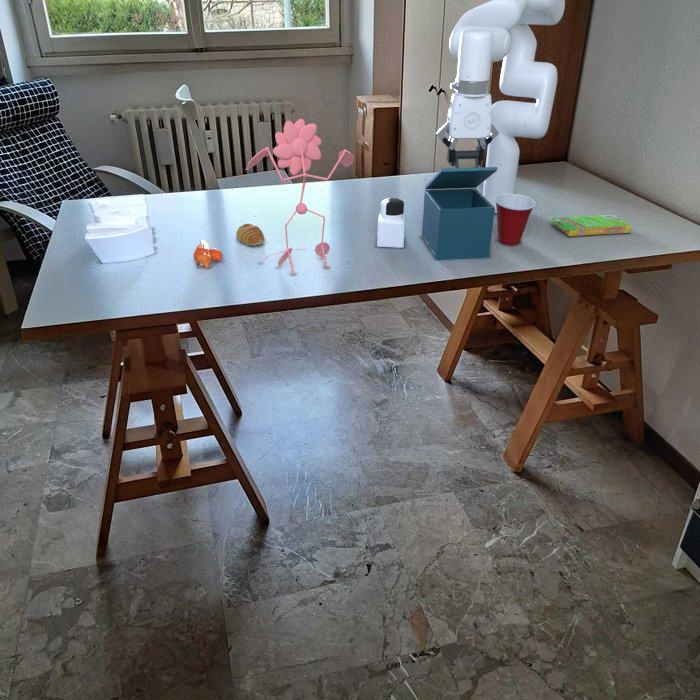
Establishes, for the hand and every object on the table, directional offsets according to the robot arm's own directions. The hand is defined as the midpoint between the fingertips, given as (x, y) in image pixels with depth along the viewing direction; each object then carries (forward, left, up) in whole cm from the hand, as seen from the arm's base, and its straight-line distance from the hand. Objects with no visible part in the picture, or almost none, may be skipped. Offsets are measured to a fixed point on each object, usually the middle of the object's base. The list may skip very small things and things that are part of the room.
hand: (464, 163), depth 165 cm
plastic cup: (-16, -4, -23) cm, 28 cm away
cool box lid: (0, -3, -5) cm, 6 cm away
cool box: (0, -2, -23) cm, 23 cm away
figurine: (+42, +3, -23) cm, 48 cm away
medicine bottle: (+16, -7, -23) cm, 29 cm away
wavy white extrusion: (+88, -14, -23) cm, 92 cm away
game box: (-42, -11, -23) cm, 49 cm away
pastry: (+54, -13, -23) cm, 60 cm away
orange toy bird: (+65, +1, -23) cm, 69 cm away
